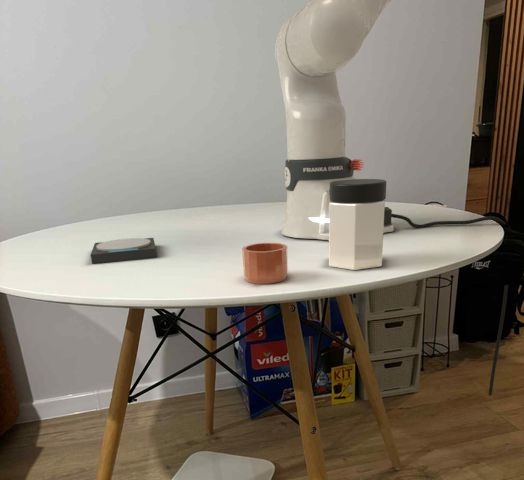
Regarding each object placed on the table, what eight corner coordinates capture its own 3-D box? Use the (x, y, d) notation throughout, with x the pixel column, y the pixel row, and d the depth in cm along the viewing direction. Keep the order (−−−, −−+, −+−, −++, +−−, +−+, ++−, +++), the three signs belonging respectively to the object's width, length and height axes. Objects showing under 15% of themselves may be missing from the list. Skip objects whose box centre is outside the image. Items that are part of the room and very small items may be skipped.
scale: (154, 245, 98) (153, 235, 97) (156, 257, 88) (155, 246, 87) (96, 251, 96) (94, 240, 95) (92, 263, 86) (89, 252, 85)
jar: (368, 254, 82) (371, 177, 77) (395, 265, 75) (400, 181, 70) (318, 261, 80) (317, 181, 75) (340, 272, 72) (341, 185, 68)
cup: (281, 271, 75) (280, 241, 73) (293, 281, 69) (292, 249, 68) (240, 275, 74) (238, 245, 72) (249, 286, 68) (247, 253, 66)
